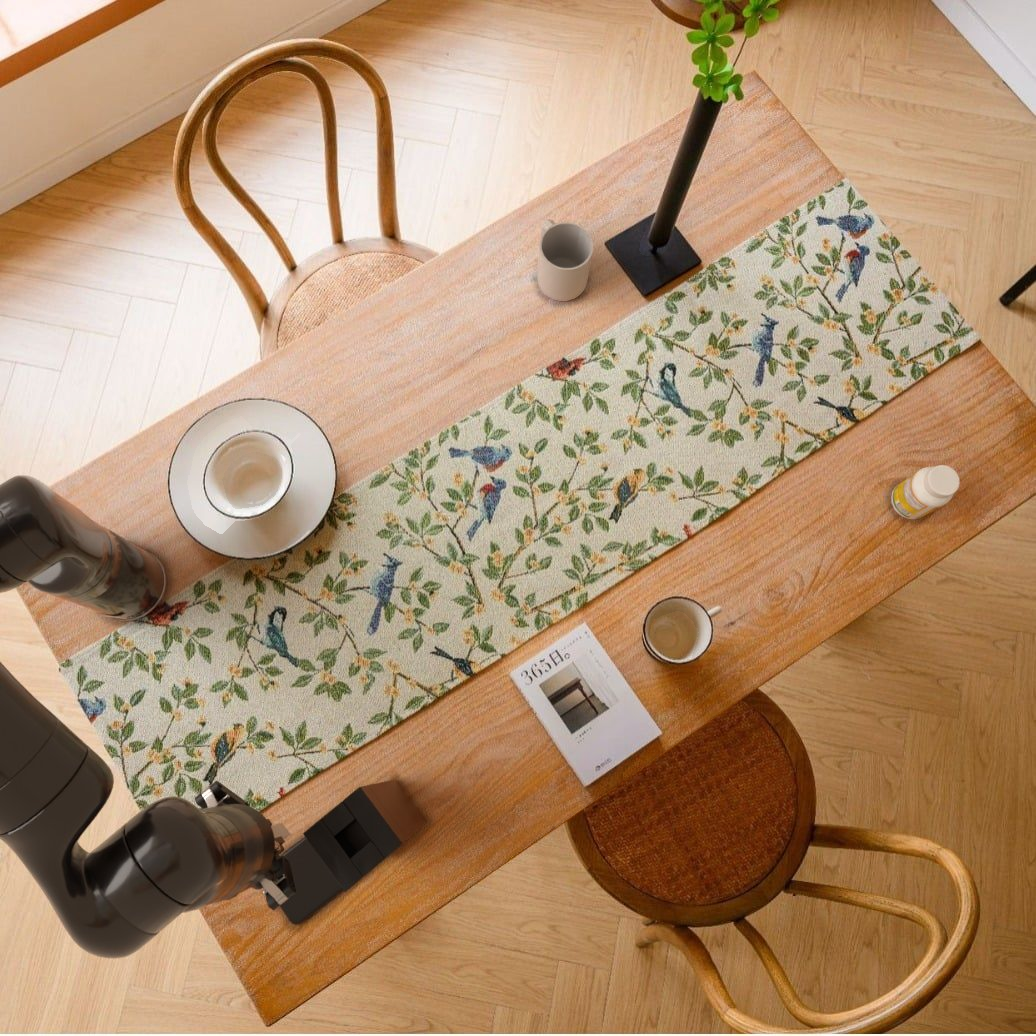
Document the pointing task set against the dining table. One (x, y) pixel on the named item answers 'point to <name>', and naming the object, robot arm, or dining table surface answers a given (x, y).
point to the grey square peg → (280, 831)
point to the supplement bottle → (925, 491)
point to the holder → (364, 830)
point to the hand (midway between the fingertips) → (268, 836)
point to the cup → (563, 259)
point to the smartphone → (308, 883)
